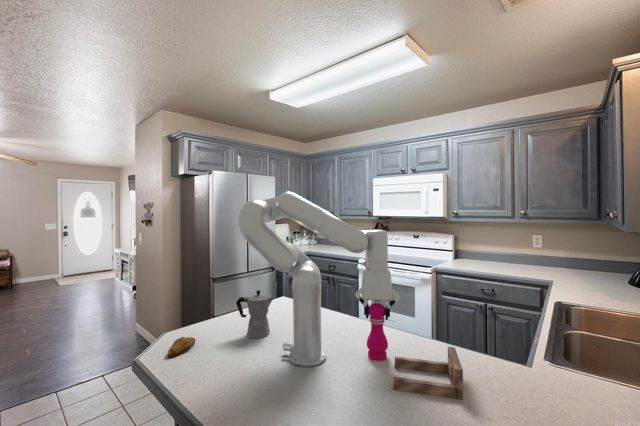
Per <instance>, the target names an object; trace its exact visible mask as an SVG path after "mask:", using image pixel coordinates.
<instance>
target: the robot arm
mask: <svg viewBox="0 0 640 426" xmlns="http://www.w3.org/2000/svg"><path fill="white" fill-rule="evenodd" d="M286 218H287V219H290V220H291V221H293V222H295V223H297V224H299V225H301V226H302V227H304V228H306V229H307V230H309V231H311V232H313V233H315V234H316V235H318V236H321V237H323V238H325V239H327V240H329V241H330V242H333V243H334V244H336V245H337V246H339V247H341V248H343V249H345V250H347V251H349V252H350V253H353V254H361V253H363V252H365V260H364V261H361V266H362V267H365V268H364V269H363V271H362V274H361V275H362V277H361V287H360V288H359V289H358V290H357V291H356V292H355V293H354V297H355V298H356V299H357V300H358V301H359V302H360V304H362V306H363V315H364V316H365V319H369V318H370V315H369V313H368V309H369V306H370V305H369V301H370V300H371V301H375V300H379V301H384V303H385V316H384V318H385V319H384V321H385V320H386V321H388V320H389V318H390V317H391V307H392V306H394V305H395V304H396V303H397V302H398V301H400V300H401V296H400V295H399V294H398V293H397V292H396V290H394V288H393V283H392V275H391V270H390V269H389V255H388V254H389V252H388V251H389V250H388V249H389V246H388V243H389V241H388V239H389V236H388V231H386V230H384V229H369V230H366V229H358V228H356V227H354V226H352V225H351V224H349V223H347V222H345V221H343V220H341V219H340V218H338V217H336V216H335V215H333V214H332V213H330V212H329V211H327V210H326V209H324V208H323V207H321V206H319V205H317V204H315V203H313V202H312V201H309V200H308V199H306V198H304V197H303V196H300V194H299V195H298V194H297V193H295V192H292V191H285V192H282V193H280V195H278V196H275V197H271V198H267V199H261V200H260V199H250V200H248V201H246V202H245V203H244V204H243V206H241V209H240V211H239V214H238V218H237V219H238V221H237V223H238V227H239V231H240V233H241V235H242V237H243V238H244V239H245V240H246V242H247V243H248V244H249V245H250V246H251V247H253V249H255V250H256V252H258V253H259V255H261V257H263V258H264V259H265V260H266V261H267V262H268V263H269V264H270V265H271V266H272V267H273V268H274V269H275V270H277V271H278V272H282V273H287V274H288V275H289V276H290V277H291V278H292V285H291V286H292V305H293V306H292V313H293V317H292V318H293V320H292V321H293V330H292V331H293V333H292V334H293V341H292V342H289V341H288V342H286V341H284V342H283V343H282V348H283V351H284V352H289V354H288V359H289V362H290V363H292V364H293V365H296V366H299V367H307V368H308V367H315V366H318V365H320V364H323V363H324V362H325V360H326V357H327V354H326V352H325V351H324V350H323V349H322V275H321V271H320V268H319V267H318V265H317V264H316V263H315V262H314V261H313V260H312V259H311V258H309V256H307V254H305V253H304V252H303V250H301V249H300V248H298V247H297V246H296V245H295V244H294V243H291V242H288V241H287V242H286V241H284V240H283V239H282V238H281V237H280V236H278V235H277V234H276V232H274V231H273V230H272V229H271V228H269V227H268V225H267V223H270V222H274V221H278V220H282V219H286ZM392 297H393V299H392Z"/></svg>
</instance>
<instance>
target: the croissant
mask: <svg viewBox="0 0 640 426" xmlns="http://www.w3.org/2000/svg"><path fill="white" fill-rule="evenodd" d="M195 343H196V338H195V337H193V336H191V337H190V336H189V337H187V336H181V337H179V338H177V339H176V340H174V341H173V343H172V345H171V346H170V347H169V349H168V351H167V353H166V355H167V358H168V359H169V358H173V357H176V356H178V355H181V354H183V353H184V352H186V351H188V350H190V349H191V347H193V346H194V344H195Z"/></svg>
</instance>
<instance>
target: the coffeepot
mask: <svg viewBox="0 0 640 426" xmlns="http://www.w3.org/2000/svg"><path fill="white" fill-rule="evenodd" d="M255 293H256V294H254V295H250V296H241V297H239V298H238V299H236V302H235V304H236V307H237V309H238V313H239V315H240V318H246V317H247V315H248V314H249V320H248V325H247V331H246V335H247V337H249V338H251V339H262V338H265V337H267V336H269V335H270V333H271V331H270V325H269V319H268V317H267V316H268V313H269V308H270V305H271V303H273V300H275V297H274V296H272V295H267V294H261V290H259V289H258V290H256V291H255ZM242 303H247V304H246V305H247V309H248V314H244V310H243V308H242V307H243V306H242Z"/></svg>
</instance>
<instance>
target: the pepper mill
mask: <svg viewBox="0 0 640 426" xmlns="http://www.w3.org/2000/svg"><path fill="white" fill-rule="evenodd" d="M373 301H374V302H373V303H371V304H370V305H369V309H368V313H369V323H370V324H371V327H370V328H371V329H370V332H369V334H368V337H367V338H366V339H367V340H366V346H367V347H366V348H367V349H368V351H367V356H368V358H369V359H370V360H371V361H376V362H383V361H385V360H386V359H387V350H388V347H389V342H388V339H387V336H386V334H385V332H384V323H386V321H385V308H386V306H384V304H382V303H380V300H373Z"/></svg>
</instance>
